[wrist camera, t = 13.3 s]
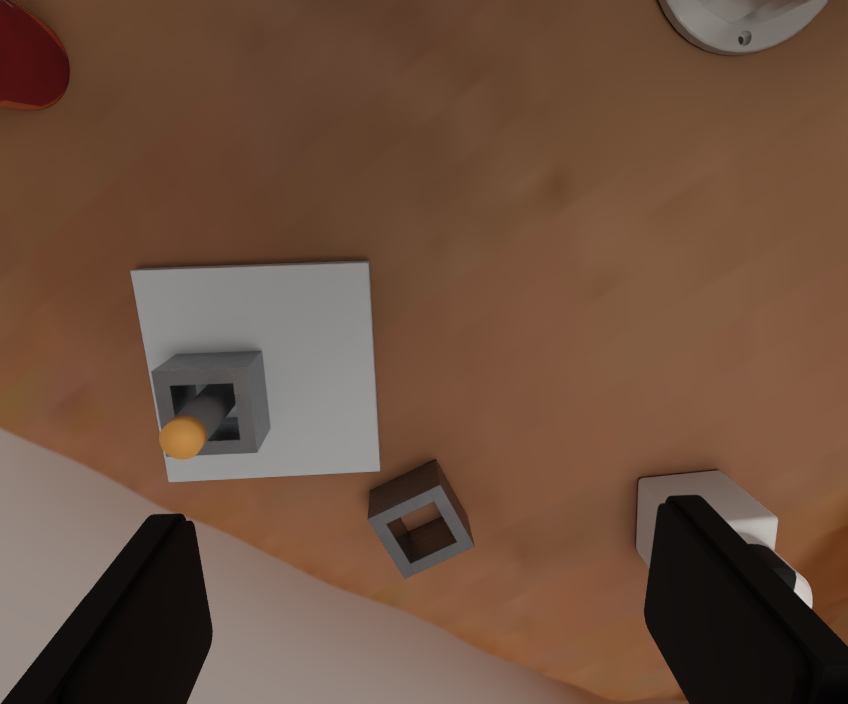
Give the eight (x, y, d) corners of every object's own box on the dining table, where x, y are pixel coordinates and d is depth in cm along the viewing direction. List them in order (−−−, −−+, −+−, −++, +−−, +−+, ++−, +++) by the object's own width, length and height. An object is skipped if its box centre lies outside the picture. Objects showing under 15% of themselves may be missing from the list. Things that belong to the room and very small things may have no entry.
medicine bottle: (634, 549, 46) (715, 666, 34) (636, 476, 44) (724, 575, 32) (714, 540, 46) (822, 654, 34) (720, 468, 44) (837, 563, 32)
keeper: (140, 268, 37) (57, 289, 28) (369, 260, 37) (361, 279, 28) (176, 472, 41) (115, 549, 32) (380, 461, 42) (377, 534, 33)
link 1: (176, 353, 37) (151, 371, 33) (262, 350, 37) (247, 367, 33) (188, 431, 39) (165, 456, 35) (270, 428, 39) (257, 452, 35)
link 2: (369, 490, 42) (367, 519, 39) (435, 459, 42) (440, 484, 38) (403, 546, 44) (404, 578, 40) (467, 516, 44) (474, 546, 40)
